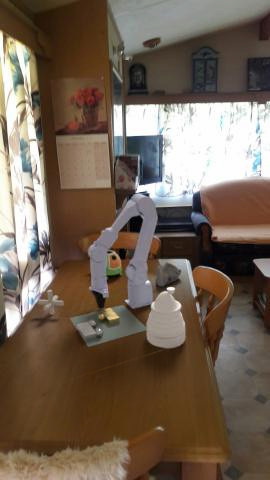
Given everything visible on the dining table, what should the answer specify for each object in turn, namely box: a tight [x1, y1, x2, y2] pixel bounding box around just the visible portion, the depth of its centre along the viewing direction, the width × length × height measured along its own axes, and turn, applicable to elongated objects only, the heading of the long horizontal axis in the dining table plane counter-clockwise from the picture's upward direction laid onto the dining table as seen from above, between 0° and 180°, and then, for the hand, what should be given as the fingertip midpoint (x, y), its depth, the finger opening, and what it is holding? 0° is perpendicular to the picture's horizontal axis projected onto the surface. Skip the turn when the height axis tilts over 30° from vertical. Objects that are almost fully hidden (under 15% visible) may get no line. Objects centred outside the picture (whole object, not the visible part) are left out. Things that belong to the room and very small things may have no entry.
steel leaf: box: [76, 320, 103, 343], centre depth 124 cm, size 9×6×2 cm
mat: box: [69, 304, 147, 348], centre depth 130 cm, size 22×22×1 cm
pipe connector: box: [37, 289, 65, 316], centre depth 138 cm, size 10×10×10 cm
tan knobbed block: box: [98, 307, 120, 325], centre depth 133 cm, size 9×6×2 cm
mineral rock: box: [155, 262, 182, 287], centre depth 163 cm, size 13×11×10 cm
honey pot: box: [145, 286, 186, 349], centre depth 117 cm, size 13×13×18 cm
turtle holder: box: [105, 249, 123, 280], centre depth 177 cm, size 12×18×12 cm
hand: (101, 307), depth 140 cm, fingers closed
